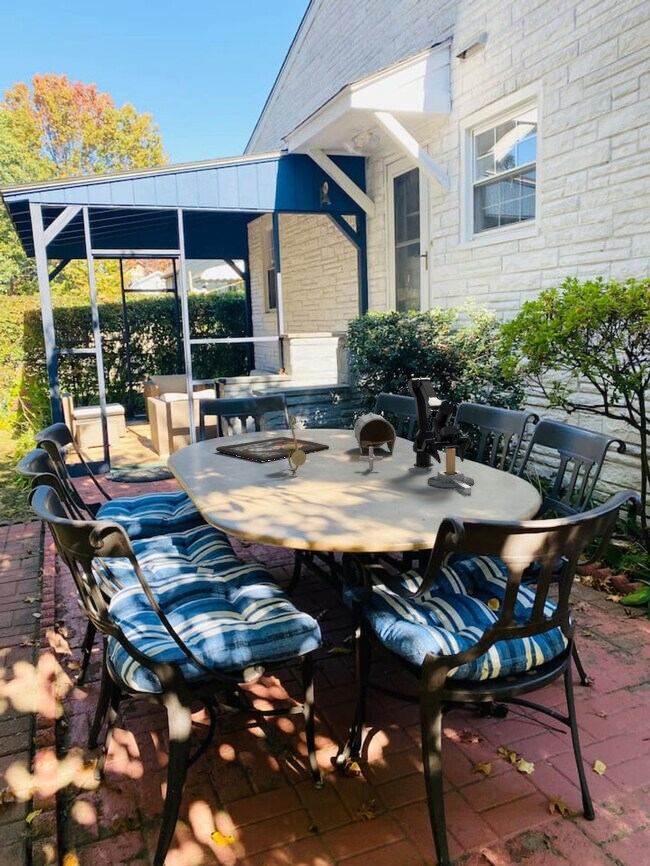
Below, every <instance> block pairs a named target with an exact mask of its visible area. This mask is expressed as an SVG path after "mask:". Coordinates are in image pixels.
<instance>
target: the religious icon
mask: <svg viewBox="0 0 650 866" xmlns="http://www.w3.org/2000/svg"><path fill="white" fill-rule="evenodd" d="M296 441H297V444H298V445H302V447H301V448H298V450H300V451H303V452H304V453H307V454H310V453H309V452H312V453H315V452H314V451H317V452H320V451H319V450H322V451H325V450H324V449H327V450H329V449H330V446H329V445H328V444H323V443H319V442H314V441H311V440H310V441H309V440H305V439H304V440H303V439H297V438H296ZM289 444H295V442H294V438H292V437H286V436H280V437H275V438H268V439H264V440H255V441H249V442H243V443H237V444H236V443H235V444H230V445H229V444H228V445H222V446H221V445H220V446H217V447H216V448H215V451H217V452H218V451H220V452H219V453H221V452H224V453H223V454H225V453H228V454H227V455H229V454H232V455H231V456H233V455H237V456H241V457H244V458H243V459H245V458H249V459H253V460H257V461H268V460H274V459H278V460H281V459H280V458H283V459H285V458H284V457H288V451H289V449H283V448H281V446H283V445H289ZM293 450H294V451H295V452H296V449H293ZM292 454H293V452H292ZM237 456H236V457H237ZM290 456H291V452H290ZM249 459H248V460H249ZM253 460H252V461H253ZM257 461H256V462H257ZM274 461H275V460H274Z"/></svg>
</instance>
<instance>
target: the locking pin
mask: <svg viewBox="0 0 650 866" xmlns="http://www.w3.org/2000/svg"><path fill="white" fill-rule="evenodd" d="M455 470H456V448H455V447H454V448H451V447H449V448H447V447H446V449H445V471H446V475H450V474H455Z"/></svg>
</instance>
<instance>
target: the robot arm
mask: <svg viewBox="0 0 650 866" xmlns="http://www.w3.org/2000/svg"><path fill="white" fill-rule="evenodd" d="M431 381H432V380H431V378H430V377H413V378H410V380H408V382H407V387H408V389H409V394H410V395H411V396H412V398H413V399H414V407H415V415H416V416H415V417H416V424H417V431H416V434H415V436H414V438H415V440H414V442H413V445H412V452H413V453H415V454H416V455H415V463H413V466H417V467H422V468H426V467H429V466H430V465H431V466H434V465H435V464H434V463H433V462H432V458H433V459H434V460H436V462H437V463H438V464H442V459H441V457H440V454H439V451H438V448H447V447H449V448H451V447H456V448H457V453H458V455H459V459H460V461H461V462H462V463H464V459H465V451H466V450H468V449H469V446H470V445H471V443H472V440H471V438H470V437H469V436H459V437H458V440H454V439H455V435H457V434H459V433H460V432H461V429H460V426H459V424H453V425H448V423H449V422H450V420H451V418H452V416H453V412H454V407H453V406H452V405H451V404H450V403H447V401H442V400H440V399H438V398H437V395H436V392H435V391H434V388H433V386H432V384H431V383H432V382H431ZM428 418H429V419H433V420H432V421H431V422H432V423H431V425H432V426H431V427H432V428H433V430H434V432H433V430H431V429H430V428H429V427H430V426H429V421H428ZM434 433H435V435H434ZM436 440H437V441H436Z"/></svg>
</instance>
